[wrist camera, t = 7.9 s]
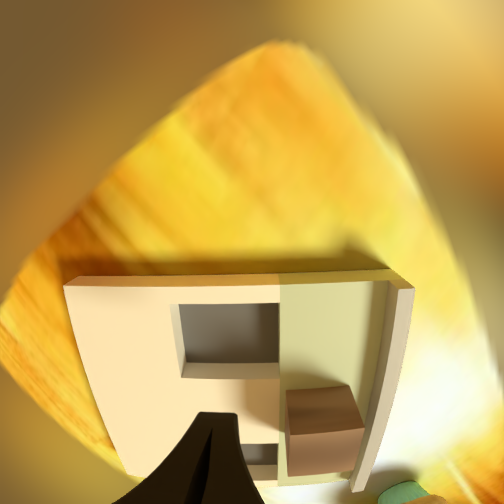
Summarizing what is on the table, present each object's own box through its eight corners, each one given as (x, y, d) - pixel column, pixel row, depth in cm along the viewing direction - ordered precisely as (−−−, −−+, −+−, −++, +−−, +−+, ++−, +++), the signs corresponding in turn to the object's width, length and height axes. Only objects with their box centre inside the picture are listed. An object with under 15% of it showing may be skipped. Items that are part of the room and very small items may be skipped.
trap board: (355, 462, 23) (363, 490, 19) (133, 459, 23) (123, 486, 20) (391, 268, 18) (415, 288, 15) (78, 275, 19) (49, 294, 16)
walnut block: (341, 428, 19) (353, 470, 15) (284, 433, 19) (287, 476, 15) (349, 385, 18) (364, 427, 14) (285, 389, 18) (290, 435, 14)
